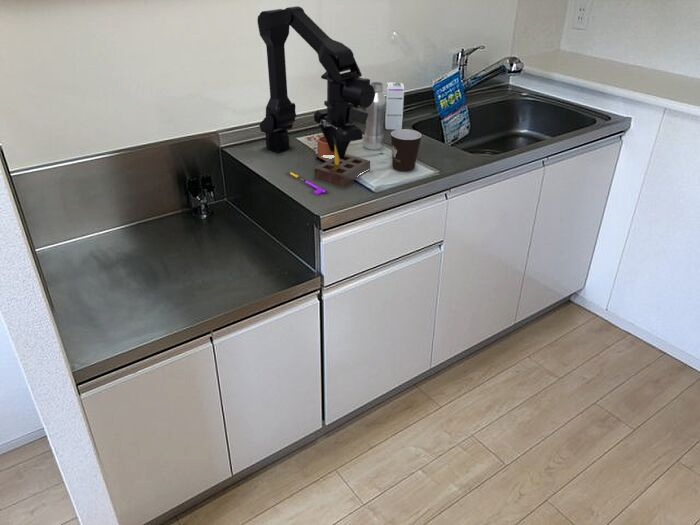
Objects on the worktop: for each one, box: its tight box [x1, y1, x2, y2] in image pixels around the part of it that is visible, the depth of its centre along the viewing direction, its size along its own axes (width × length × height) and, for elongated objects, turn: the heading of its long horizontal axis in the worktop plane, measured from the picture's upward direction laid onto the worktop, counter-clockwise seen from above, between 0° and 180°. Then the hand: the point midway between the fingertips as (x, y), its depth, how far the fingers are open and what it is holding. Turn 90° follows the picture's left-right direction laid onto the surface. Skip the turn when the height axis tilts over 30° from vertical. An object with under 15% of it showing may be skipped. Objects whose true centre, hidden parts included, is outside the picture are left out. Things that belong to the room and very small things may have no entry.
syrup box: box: [384, 81, 405, 131], centre depth 189 cm, size 6×6×14 cm
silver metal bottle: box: [362, 81, 386, 151], centre depth 170 cm, size 6×7×20 cm
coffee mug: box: [390, 128, 422, 173], centre depth 162 cm, size 12×9×10 cm
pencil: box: [334, 146, 340, 165], centre depth 156 cm, size 1×1×10 cm
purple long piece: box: [289, 171, 327, 196], centre depth 152 cm, size 3×1×16 cm
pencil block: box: [313, 153, 371, 188], centre depth 157 cm, size 10×14×4 cm
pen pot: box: [317, 135, 335, 161], centre depth 168 cm, size 7×7×6 cm
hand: (337, 154), depth 155 cm, fingers open, 5 cm apart
